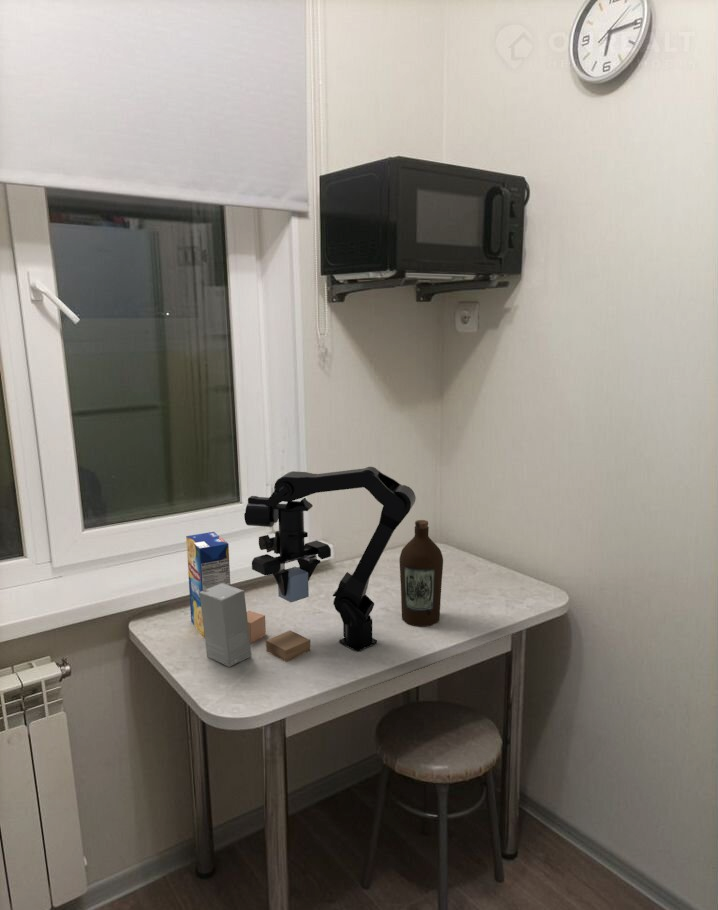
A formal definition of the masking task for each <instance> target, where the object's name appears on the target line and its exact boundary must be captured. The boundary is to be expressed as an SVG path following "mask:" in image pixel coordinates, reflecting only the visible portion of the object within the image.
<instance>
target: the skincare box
mask: <svg viewBox="0 0 718 910" xmlns="http://www.w3.org/2000/svg"><path fill="white" fill-rule="evenodd" d="M245 595H246V594H245V590H244V589H241V588H238V587H235V586H232V585H230V586H229V585H226V584H224V583H221V584H218V585H216V586H214V587H211V588H209V589H206V590H204V591H201V592H200V601H201V609H202V617H203V626H204V634H205V638H204V641H205V650H206V657H208V658H209V659H211V660H213V661H216V662H218V663H220V664H222V665H224V666H227V667H229V668H230V667H231V666H234V665H236V664H238V663H240V662H242V661H245V660H247V659H249V658H251V657H252V650H251V648H252V647H251V643H250V639H249V630H248V621H247V603H246V597H245Z"/></svg>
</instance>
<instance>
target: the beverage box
mask: <svg viewBox="0 0 718 910" xmlns="http://www.w3.org/2000/svg"><path fill="white" fill-rule="evenodd" d="M185 537H186V553H187V555H186V556H187V575H188V589H189V591H188V592H189V605H190V622H191V623H192V625H194V626H195V628H196V629H197V631H198V632H199V633H200V634H201V636H202V637H203V638H204V639H205V634H204V626H203V617H202V609H201V601H200V592H201V591H204V590H206V589H209V588H211V587H214V586H216V585H218V584H221V583H224V584H226V585H229V586H231V571H230V553H229V552H230V550H229V548H230V546H229V545H230V544H229V543H228V542H227V541H226V540H225V539H223V538H222V537H221V536H220V535H218V534H217V533H216V532H215V531H209V532H203V533H196V534H192V535H186V536H185Z"/></svg>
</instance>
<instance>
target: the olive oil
mask: <svg viewBox="0 0 718 910" xmlns="http://www.w3.org/2000/svg"><path fill="white" fill-rule="evenodd" d="M414 525H415V526H414V535H413V537H412V538H411V539H410V540H409V541H408V542H407V544H406V545H404V547H402V550H401V551H400V552H401V553H400V555H399V577H400V579H399V580H400V581H399V582H400V598H401V599H400V600H401V601H400V603H401V605H400V606H401V607H400V608H401V620H402V621H403V622H404V623H406V624H408V625H411V626H414V627H431V626H434V625H436V624H438V623H439V621H440V618H441V602H442V601H441V598H442V597H441V596H442V584H443V583H442V581H443V569H444V557H443V553H442V551H441V549H440V548H439V546H438V544H436V543H435V542H434V541H433V540H432V539H431V537H430V536H429V531H430V530H429V529H430V527H429V521H428V520H425V519H417V520H415V522H414ZM433 624H434V625H433Z"/></svg>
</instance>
